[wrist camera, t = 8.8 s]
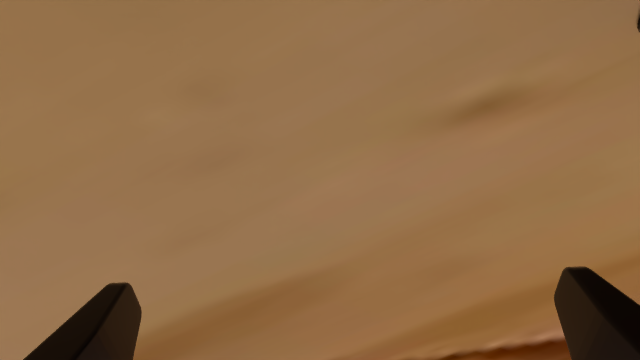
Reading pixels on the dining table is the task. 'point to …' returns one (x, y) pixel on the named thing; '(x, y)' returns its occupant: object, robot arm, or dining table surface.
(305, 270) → the dining table surface
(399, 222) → the dining table surface
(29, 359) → the robot arm
